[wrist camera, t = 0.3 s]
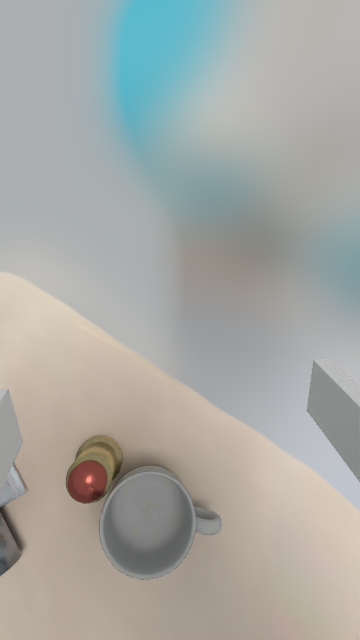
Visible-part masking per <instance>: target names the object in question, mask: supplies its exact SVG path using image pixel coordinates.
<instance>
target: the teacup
mask: <svg viewBox="0 0 360 640" xmlns="http://www.w3.org/2000/svg"><path fill="white" fill-rule="evenodd" d="M220 529H221V518H220V516H219V515H218V514H216V513H215V512H213V511H210V510H207V509H203V508H199V507H195V506H194V505H193V502H192V499H191V497H190V495H189V493H188V492H187V490H186V489H185V487H184V485H183V484H182V483H181V481H180V480H179V479H178V478H177V477H176V476H175V475H174V474H173V473H172V472H170V471H168V470H167V469H164V468H162V467H159V466H152V465H149V466H141V467H138V468H135V469H133V470H131V471H129V472H128V473H126V474H125V475H124V476H123V477H122V478H120V480H119V481H118V482H117V483H116V484H115V486H114V487H113V489H112V491H111V493H110V495H109V496H108V498H107V500H106V502H105V504H104V506H103V509H102V513H101V517H100V525H99V535H100V541H101V545H102V548H103V550H104V552H105V554H106V556H107V558H108V559H109V560H110V562H111V563H112V564H113V566H114V567H115V568H117V569H118V570H119V571H120V572H122V573H124V574H126V575H127V576H130V577H132V578H137V579H142V580H143V579H153V578H158V577H161V576H164V575H166V574H168V573H169V572H171V571H172V570H173V569H175V568H176V567H177V566H178V565H179V564H180V563H181V562H182V561H183V559H184V558H185V557H186V555H187V553H188V551H189V549H190V547H191V545H192V542H193V538H194V534H195V532H197V533H201V534H205V535H214V534H217V533H218V532H219V531H220Z"/></svg>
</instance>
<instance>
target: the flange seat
mask: <svg viewBox="0 0 360 640" xmlns="http://www.w3.org/2000/svg"><path fill="white" fill-rule="evenodd" d="M27 490H28V489H27V487H26V485H25V484H24V482H23V480H22V478H21V476H20V474H19V472H18V470H17V468H16V466H15V464H14V463H13V465H12V467H11V470H10V472H9V474H8V477H7V479H6V481H5V483H4V486H3V488H2V490H1V493H0V508H1V507H2V506H4V505H5V504H7V503H9V502H10V501H12V500H13V499H15V498H17V497H18V496H20V495H22V494H23V493H25V492H26V491H27ZM21 555H22V554H21V552H20V550H19V548H18V546H17V544H16V542H15V540H14V538H13V536H12V534H11V532H10V530H9V528H8V526H7V524H6V522H5V520H4V518H3V516H2V514H1V512H0V576H1V575H2V574H4V573H5V572H6V571H7V570H8V569H10V568H11V567H12V566H13V565H14V564H15V563H16V562H17V561H18V560H19V558H20V557H21Z"/></svg>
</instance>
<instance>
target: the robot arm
mask: <svg viewBox="0 0 360 640" xmlns="http://www.w3.org/2000/svg"><path fill="white" fill-rule="evenodd" d="M307 412H308V413H309V414H310V416H311V417H312V418H313V420H314V421H315V422H316V423H317V425H318V426H319V428H320V429H321V430H322V432H323V433H324V434H325V436H326V437H327V438H328V440H329V441H330V442H331V444H332V445H333V447H334V448H335V449H336V451H337V452H338V453H339V455H340V456H341V457H342V458H343V460H344V461H345V463H346V464H347V465H348V467H349V468H350V469H351V471H352V472H353V473H354V475H355V476H356V477H357V479H358V480H359V482H360V386H359V385H358V384H357V383H356V382H355V381H354V380H353V379H351V378H350V377H349V376H348V375H347V374H346V373H345V372H344V371H343V370H342V369H341V368H339V367H338V366H337V365H336V364H335V363H334V362H333V361H332V360H331V359H321V360H314V361H313V368H312V375H311V383H310V390H309V398H308V405H307ZM22 442H23V440H22V437H21V433H20V429H19V426H18V422H17V418H16V415H15V411H14V407H13V404H12V400H11V396H10V393H9V389H0V493H1V490H2V488H3V486H4V483H5V481H6V479H7V477H8V474H9V472H10V470H11V467H12V465H13V463H14V460H15V458H16V456H17V454H18V451H19V449H20V447H21V444H22Z"/></svg>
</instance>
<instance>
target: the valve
mask: <svg viewBox="0 0 360 640" xmlns="http://www.w3.org/2000/svg"><path fill="white" fill-rule="evenodd" d="M121 464H122V452H121V449H120V447H119V445H118V444H117V443H116V442H115V441H114V440H113V439H111V438H109V437H106V436H96V437H92V438H90V439H88V440H87V441H86V442H85V443H84V444H83V445H82V446H81V447H80V448H79V450H78V452H77V454H76V458H75V462H74V463H73V464H72V465H71V467H70V468H69V470H68V472H67V476H66V487H67V490H68V492H69V494H70V495H71V497H72V498H73V499H75V500H76V501H78V502H81V503H93V502H96V501H98V500H100V499H101V498H102V497H104V496H105V494H106V493H107V492H108V490H109V488H110V485H111V482H112V480H113V479H114V478H115V477H116V475H117V474H118V472H119V470H120V468H121Z"/></svg>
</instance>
